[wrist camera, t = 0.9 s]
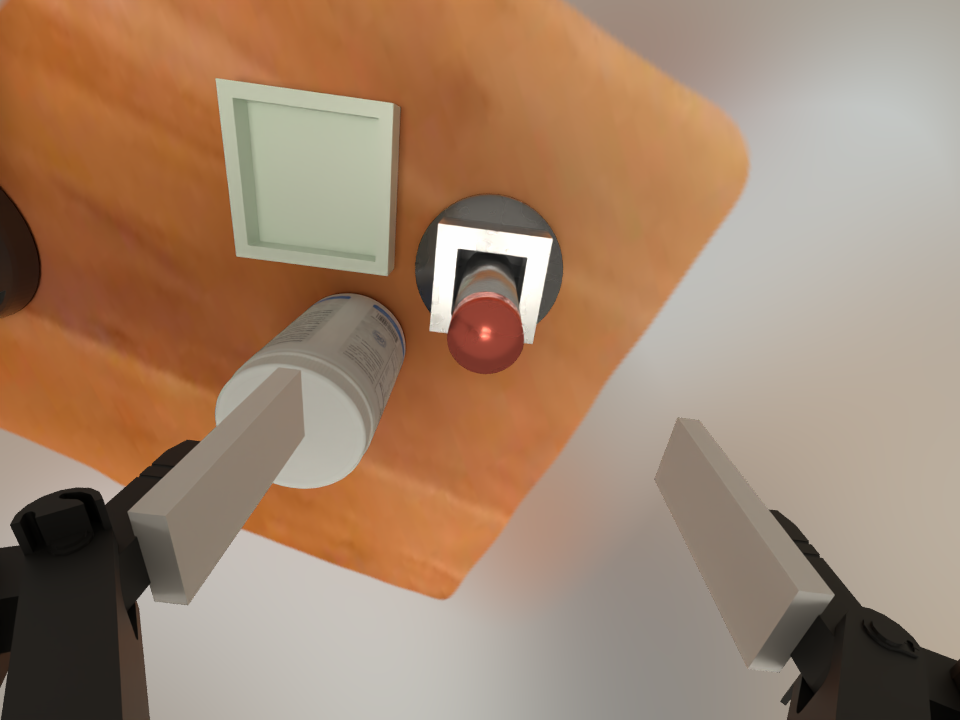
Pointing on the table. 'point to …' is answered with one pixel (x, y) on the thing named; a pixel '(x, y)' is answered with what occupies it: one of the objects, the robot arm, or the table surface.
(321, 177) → the tray
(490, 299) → the red capped bottle
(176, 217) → the table surface
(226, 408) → the supplement tub
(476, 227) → the grey socket fixture
